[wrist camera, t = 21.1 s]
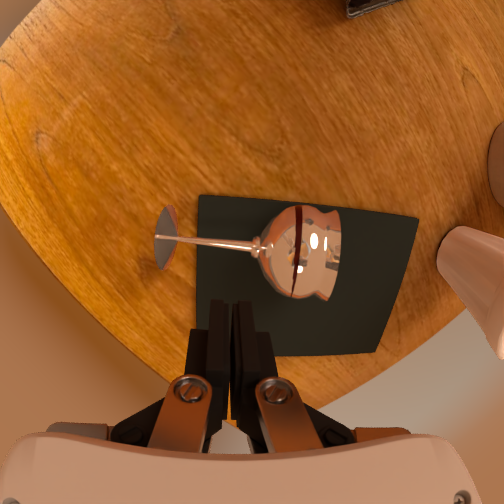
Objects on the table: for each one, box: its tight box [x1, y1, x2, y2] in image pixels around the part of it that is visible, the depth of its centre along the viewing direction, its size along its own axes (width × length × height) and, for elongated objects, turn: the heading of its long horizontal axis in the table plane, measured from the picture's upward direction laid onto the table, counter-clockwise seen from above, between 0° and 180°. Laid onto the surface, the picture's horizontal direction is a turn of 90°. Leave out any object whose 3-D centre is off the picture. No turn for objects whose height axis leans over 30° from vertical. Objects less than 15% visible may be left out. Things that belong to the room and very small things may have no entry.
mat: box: [196, 195, 419, 356], centre depth 26 cm, size 20×16×1 cm
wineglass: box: [154, 204, 341, 301], centre depth 21 cm, size 7×7×12 cm
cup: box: [436, 226, 504, 360], centre depth 20 cm, size 10×10×13 cm
